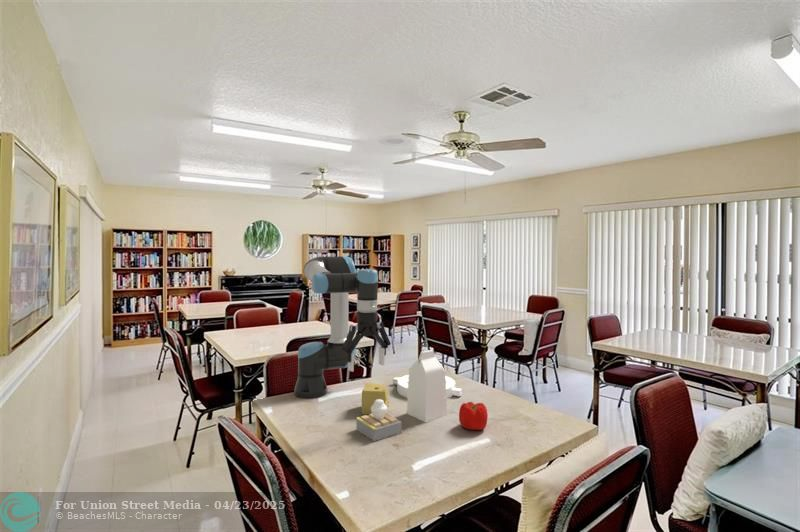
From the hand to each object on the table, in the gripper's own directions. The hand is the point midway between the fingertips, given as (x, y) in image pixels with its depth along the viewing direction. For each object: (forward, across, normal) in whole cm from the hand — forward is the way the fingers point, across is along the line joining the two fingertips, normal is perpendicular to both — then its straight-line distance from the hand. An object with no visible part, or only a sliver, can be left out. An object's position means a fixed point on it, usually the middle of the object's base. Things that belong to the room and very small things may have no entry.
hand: (366, 367), depth 149 cm
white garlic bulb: (+18, +2, -5) cm, 19 cm away
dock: (+23, +2, -5) cm, 24 cm away
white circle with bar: (+25, +47, +19) cm, 56 cm away
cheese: (+24, +13, +13) cm, 30 cm away
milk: (+24, +28, -4) cm, 36 cm away
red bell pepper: (+23, +33, -24) cm, 47 cm away
